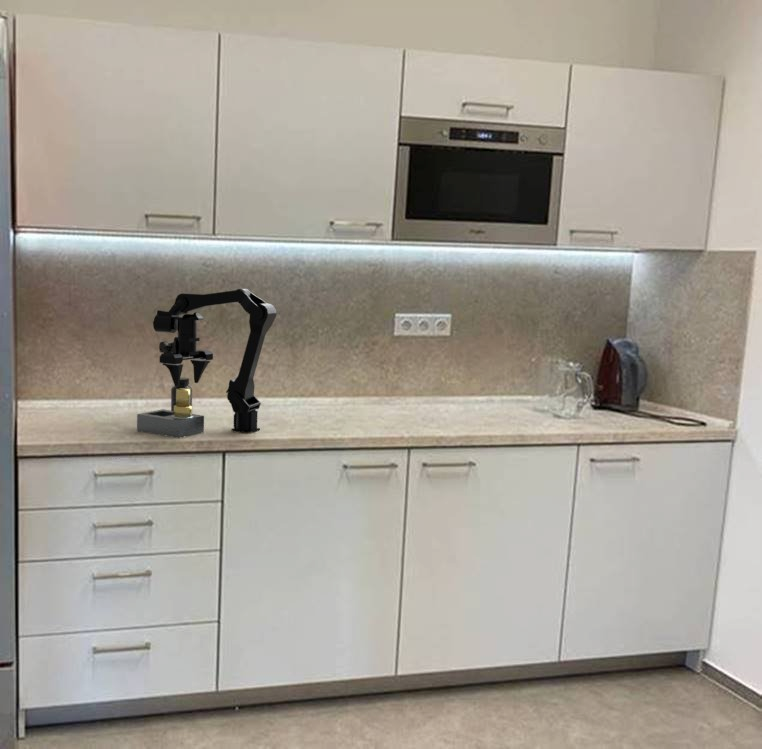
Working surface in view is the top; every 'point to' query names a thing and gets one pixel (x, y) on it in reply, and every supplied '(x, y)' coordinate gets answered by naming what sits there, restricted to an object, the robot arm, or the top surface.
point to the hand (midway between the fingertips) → (186, 384)
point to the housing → (169, 423)
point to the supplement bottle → (182, 384)
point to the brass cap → (182, 403)
